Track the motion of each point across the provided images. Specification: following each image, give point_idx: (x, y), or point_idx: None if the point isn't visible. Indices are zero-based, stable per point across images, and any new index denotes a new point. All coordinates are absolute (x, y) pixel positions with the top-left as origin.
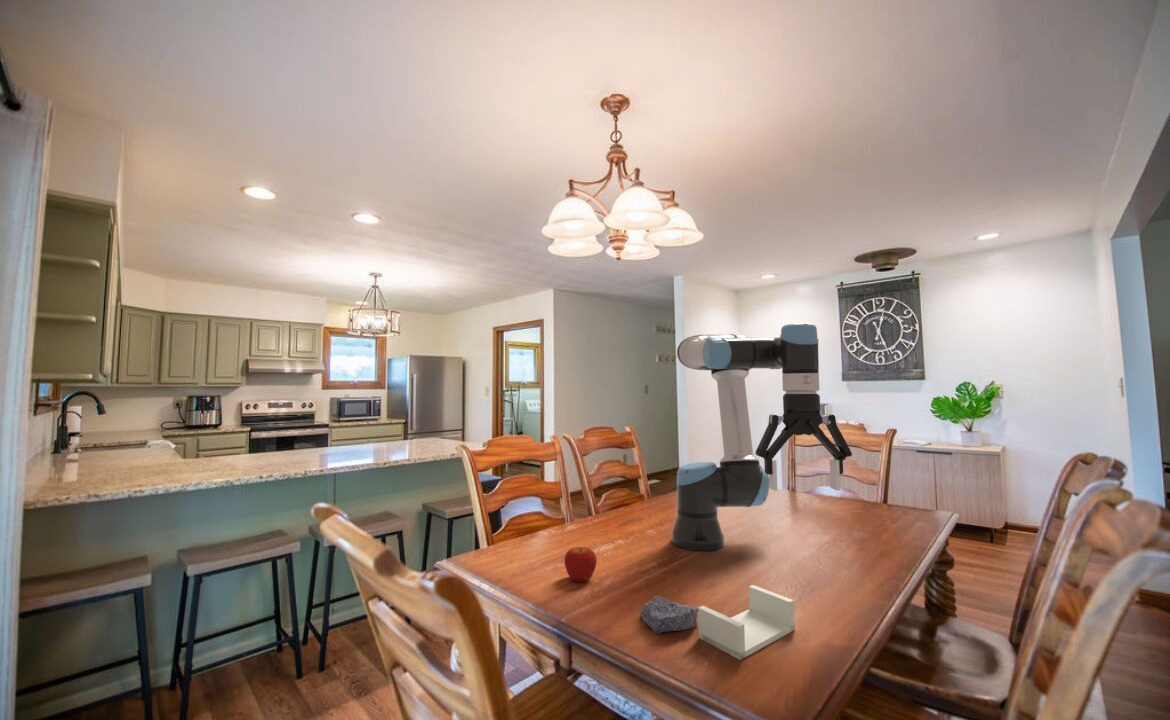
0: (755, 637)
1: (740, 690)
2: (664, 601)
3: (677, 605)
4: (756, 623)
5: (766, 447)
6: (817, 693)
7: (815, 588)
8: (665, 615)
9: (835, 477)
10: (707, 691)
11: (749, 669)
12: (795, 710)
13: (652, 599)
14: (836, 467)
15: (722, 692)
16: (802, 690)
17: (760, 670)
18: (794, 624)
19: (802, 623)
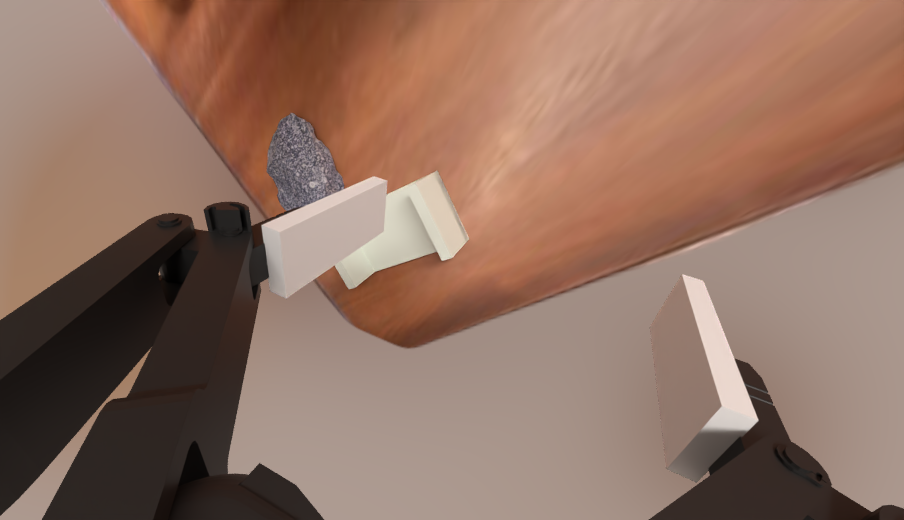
0: (397, 252)
1: (357, 307)
2: (286, 168)
3: (302, 185)
4: (414, 221)
5: (163, 320)
6: (419, 337)
7: (644, 93)
8: (286, 206)
9: (660, 364)
10: (330, 297)
11: (375, 286)
12: (389, 342)
13: (273, 148)
14: (664, 424)
15: (342, 303)
16: (408, 329)
17: (385, 292)
18: (466, 241)
19: (493, 226)
